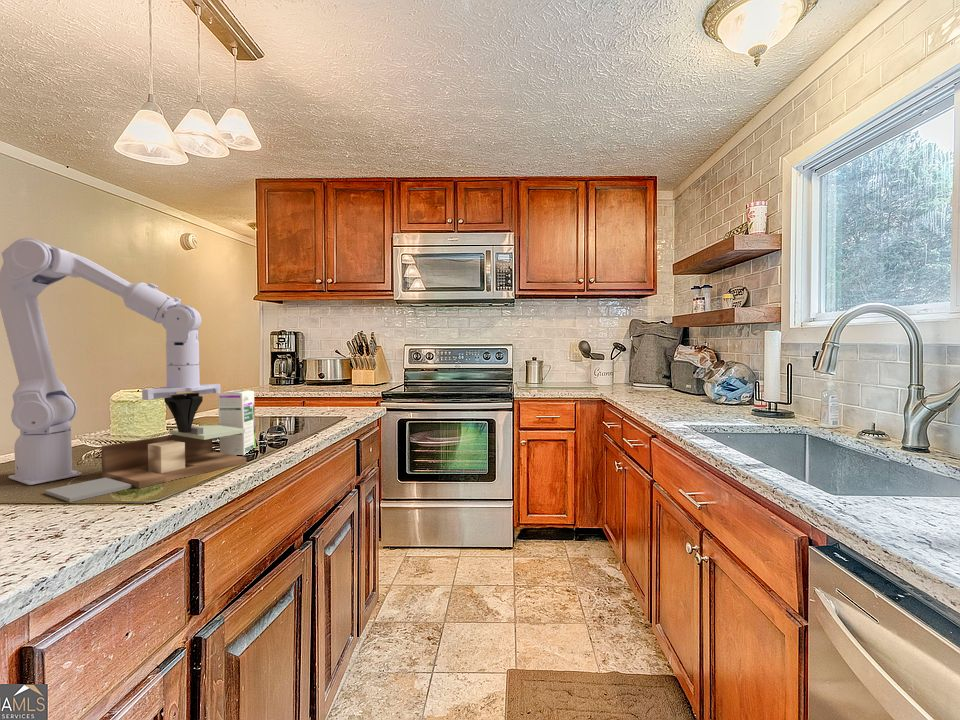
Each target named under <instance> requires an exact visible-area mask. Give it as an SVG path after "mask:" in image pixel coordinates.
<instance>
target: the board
mask: <svg viewBox="0 0 960 720" xmlns="http://www.w3.org/2000/svg"><path fill="white" fill-rule="evenodd" d="M170 440H173V441H179V442H184V443H185V468H182V469H178V470H173V471H169V472H164V473H160V474H157V473H153V472H149V471H148V444H153V443H159V442H164V441H170ZM100 447H101V451H100V452H101V478H109V479H113V480H117V481H121V482H124V483H128V484H132V487H133V488H137V489H142V488H146V487H151V486H156V485H159V483H160V484H164V483H168V482H172V481H171V480H173V481H176V480H175V479H177V480H180V479H179V478H181V479H184V477H185V478H189V477H192V476H193V477H194V476H198V475H202V474H206V473H210V472H213V471H218V470H223V469H227V468H230V467H231V468H232V467H236V466H240V465H244V464H247V457H246V456H236V455H230V454H225V453H220V451H219V452H218V451H213V438H212V439H206V440H202V439H196V438H190V437H184V436H178V435H172V434H169V435H165V436H164V435H163V436H157V437H150V438H145V439H138V440H132V441H126V442H120V443H119V442H118V443H112V444H107V445H102V446H100ZM163 482H164V483H163ZM155 484H156V485H155Z"/></svg>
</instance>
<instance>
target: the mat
mask: <svg viewBox="0 0 960 720" xmlns="http://www.w3.org/2000/svg"><path fill="white" fill-rule="evenodd" d="M128 489H132V484H128V483H124V482H121V481H117V480H113V479H109V478H102V477H100V478H97V479H92V480H91V479H90V480H88V481H87V480H86V481H82V482H78V483H73V484H68V485H63V486H59V487H54V488H49V489H45V490H44V494H45V495H48V496H51V497H54V498H57V499H60V500H62V501H65V502H68V503H72V502H77V501H82V500H85V499H91V498H94V497H99V496H103V495H107V494H110V493H115V492H119V491H124V490H128Z"/></svg>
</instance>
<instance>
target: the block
mask: <svg viewBox="0 0 960 720" xmlns="http://www.w3.org/2000/svg"><path fill="white" fill-rule="evenodd" d="M182 468H185V443H184V442H179V441H173V440H170V441H164V442H159V443H153V444H148V471H149V472H153V473H157V474H160V473H164V472H169V471H173V470H178V469H182Z"/></svg>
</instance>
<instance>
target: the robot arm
mask: <svg viewBox="0 0 960 720" xmlns="http://www.w3.org/2000/svg"><path fill="white" fill-rule="evenodd" d="M1 257H2V266H1V267H0V313H1V317H2V321H3V325H4V329H5V333H6V336H7V341H8V345H9V349H10V352H11V356H12V360H13V365H14V367H15V372H16V376H17V379H18V385H17V387H16V388H15V389H14V392H13V393H12V394H11V395H12V400H13V407H12V409H11V413H10V419H11V423H13V425H14V427H16V428H17V429H19V433H20V434H19V436H18V437H17V438H16V440H15V442H14V448H13V449H14V473H15V474H11V475H8V479H10V480H13V481H17V482H19V483H22V484H25V485H27V486H33V485H38V484H44V483H47V482H49V483H50V482H54V481H59V480H62V479H69V478H72V477H73V478H74V477H79V476H82V475H83V472H82V471H78V470H74V469H73V450H72V447H73V445H72V425H71V421H72V420H73V419H74V418H75V417H76V416H77V412H78V407H77V402H76V401H75V400H74V399H73V397H71V395H70V393H69V392H68V389H67V386H66V385H65V384H64V382H62V381H61V380H60V379H59V378H58V377H57V372H56V368H55V364H54V361H53V356H52V352H51V347H50V343H49V340H48V336H47V333H46V329H45V324H44V320H43V315H42V312H41V309H40V308H41V307H40V305H39V300H38V296H39V295H40V294H41V293H42V292H43V291H44V290H45V289H47V288H48V287H49V286H52V285H53V284H55V283H57V282H60V281H62V280H64V279H65V278H67V277H71V278H82V279H85V280H86V281H88V282H90V283H92V284H94V285H96V286H99V287H101V288H102V289H105V290H106V291H109V292H110V293H112V294H115V295H117V296H119V297H121V298H122V300H123V302H124V305H125V307H126V308H128V309H130V310H131V311H134V312H135V313H137V314H139V315H141V316H143V317H145V318H147V319H149V320H151V321H153V322H155V323H157V324H161V325H162V327H163V328H164V329H165V330H166V331H165V334H166V336H165V337H166V342H165V355H166V357H165V358H166V360H165V361H166V368H165V369H166V386H164V387H162V386H161V387H155V388H143V389H141V393H142V395H141V399H142V400H145V401H146V400H147V401H151V400H156V399H164V403H165V404H166V405H167V407H168V409H169V411H170V412H171V414H172V416H173V419H174V421H175V424H176V427H177V428H176V429H178V432H181V433H187V432H190V431H191V426H193V422H194V420H195V416H196V414H197V411H198V410H199V407H200V406H201V404H202V403H203V396H201V395H209V394H210V395H211V394H219V393H222V392H221V387H222V386H221V384H220V383H206V384H201V382H200V381H201V379H200V378H201V376H200V373H201V372H200V341H199V336H200V335H199V329H200V328H201V325H202V323H203V321H202V320H203V318H202V315H201V314H200V312H199V311H198V309H196V308H194V307H193V306H192V305H188V304H181V302H182V299H181V298H178V297H176V296H175V297H171V296H170V295H168V294H167V293H164V292H162V291H160V290H159V289H158V288H159V286H158V285H156V284H154V283H152V282H149V283H148V284H147V283H146V282H143V281H142V282H137V283H132V282H130V281H128V280H126V279H124V278H122V277H121V276H119V275H117V274H115V273H114V272H112V271H110V270H109V269H106V268H105V267H103V266H102V265H100V264H98V263H96V262H94V261H92V260H90V259H89V258H87V257H85V256H82V255H79V254H77V253H74V252H71V251H67V250H66V249H65V248H63V247H59V246H54V245H51V244H48V243H45V242H42V241H41V240H39V239H37V238H32V237H24V238H19V239H17V240H15V241H13V242H12V243H11V244H10V245H9V246H7V248H5V249H4V250H3V251H2V252H1Z"/></svg>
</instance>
